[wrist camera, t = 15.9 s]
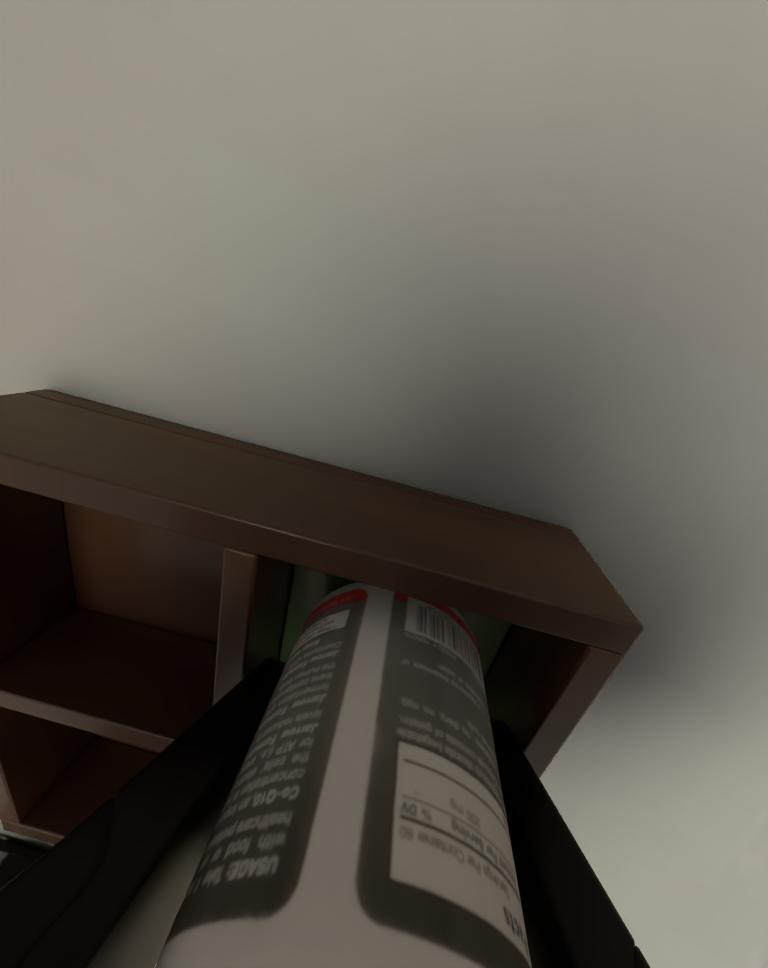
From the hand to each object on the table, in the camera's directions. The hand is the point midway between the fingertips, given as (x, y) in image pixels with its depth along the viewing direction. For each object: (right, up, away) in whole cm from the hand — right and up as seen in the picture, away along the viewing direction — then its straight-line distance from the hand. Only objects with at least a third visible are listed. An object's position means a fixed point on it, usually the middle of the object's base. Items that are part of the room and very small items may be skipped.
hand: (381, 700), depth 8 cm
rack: (-4, -1, +4) cm, 6 cm away
